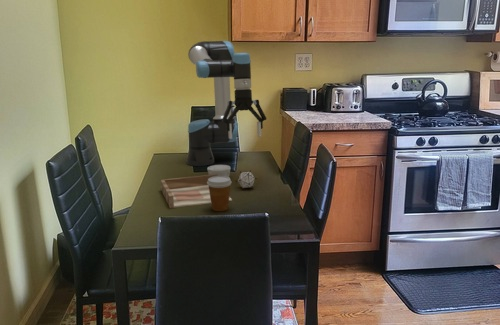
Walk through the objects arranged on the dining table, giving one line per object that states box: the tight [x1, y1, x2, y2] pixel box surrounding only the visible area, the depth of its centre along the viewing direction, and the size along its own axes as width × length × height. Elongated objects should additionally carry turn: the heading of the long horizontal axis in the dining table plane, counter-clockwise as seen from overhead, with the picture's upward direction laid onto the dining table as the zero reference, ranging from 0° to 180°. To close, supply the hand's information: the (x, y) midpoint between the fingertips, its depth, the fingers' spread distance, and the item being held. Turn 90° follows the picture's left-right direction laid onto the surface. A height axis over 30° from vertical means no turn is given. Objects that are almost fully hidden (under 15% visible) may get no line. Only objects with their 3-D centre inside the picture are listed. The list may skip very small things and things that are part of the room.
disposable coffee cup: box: [207, 176, 233, 212], centre depth 177 cm, size 10×10×12 cm
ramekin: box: [206, 164, 232, 178], centre depth 219 cm, size 11×11×5 cm
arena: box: [160, 174, 233, 209], centre depth 193 cm, size 24×26×5 cm
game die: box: [235, 169, 258, 190], centre depth 202 cm, size 9×8×10 cm
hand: (245, 137), depth 202 cm, fingers open, 13 cm apart
